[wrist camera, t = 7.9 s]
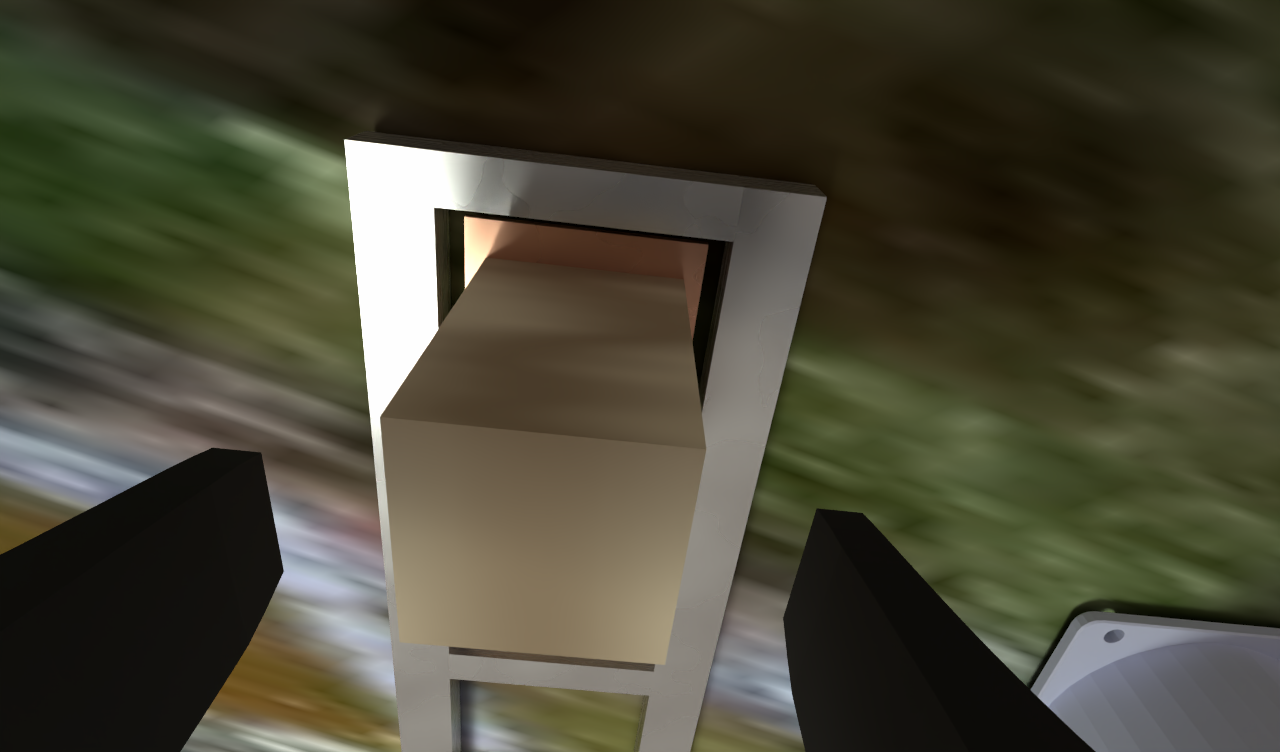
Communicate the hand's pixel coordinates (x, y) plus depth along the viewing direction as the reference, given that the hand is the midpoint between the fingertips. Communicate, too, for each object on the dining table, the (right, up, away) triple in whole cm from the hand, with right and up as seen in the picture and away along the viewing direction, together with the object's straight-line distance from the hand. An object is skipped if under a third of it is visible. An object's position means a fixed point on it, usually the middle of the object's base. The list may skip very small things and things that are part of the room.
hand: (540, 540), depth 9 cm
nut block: (0, +3, +5) cm, 6 cm away
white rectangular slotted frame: (-1, -3, +9) cm, 9 cm away
